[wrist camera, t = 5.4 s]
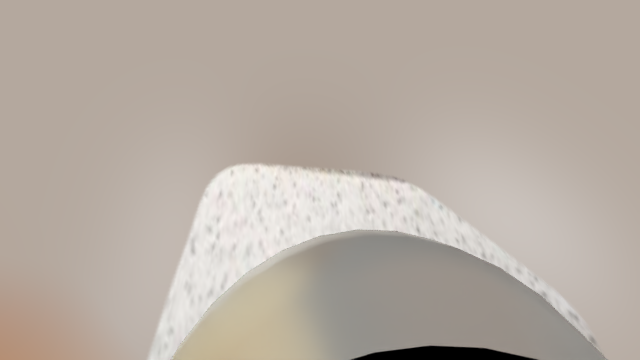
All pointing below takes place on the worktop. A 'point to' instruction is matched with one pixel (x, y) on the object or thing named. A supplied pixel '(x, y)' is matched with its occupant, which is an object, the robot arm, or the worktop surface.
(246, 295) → the silver ridged hollow container
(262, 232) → the worktop surface
